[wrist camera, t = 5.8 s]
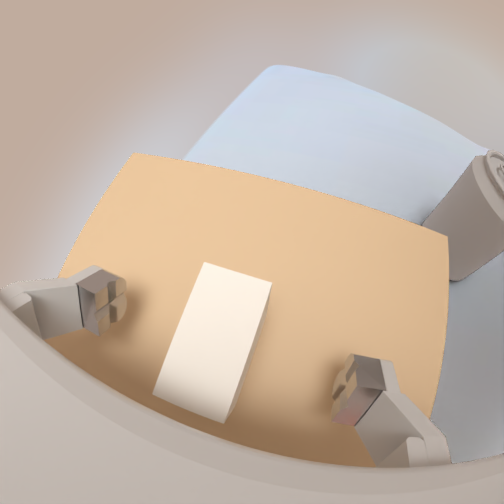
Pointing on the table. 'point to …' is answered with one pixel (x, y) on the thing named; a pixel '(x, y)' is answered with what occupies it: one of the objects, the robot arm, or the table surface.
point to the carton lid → (257, 303)
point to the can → (473, 216)
